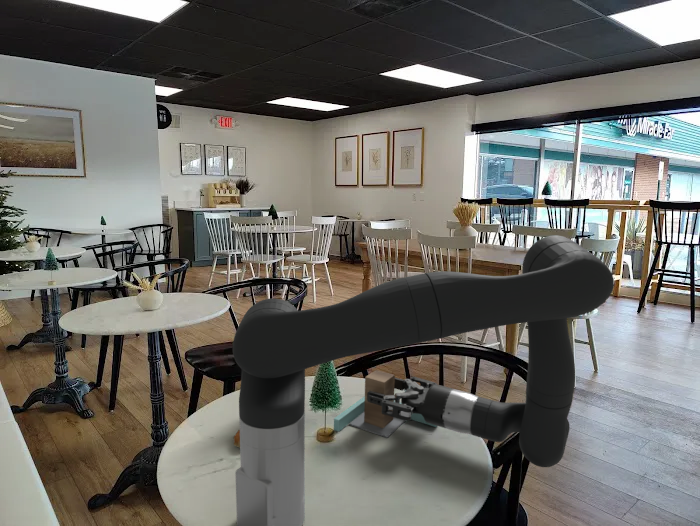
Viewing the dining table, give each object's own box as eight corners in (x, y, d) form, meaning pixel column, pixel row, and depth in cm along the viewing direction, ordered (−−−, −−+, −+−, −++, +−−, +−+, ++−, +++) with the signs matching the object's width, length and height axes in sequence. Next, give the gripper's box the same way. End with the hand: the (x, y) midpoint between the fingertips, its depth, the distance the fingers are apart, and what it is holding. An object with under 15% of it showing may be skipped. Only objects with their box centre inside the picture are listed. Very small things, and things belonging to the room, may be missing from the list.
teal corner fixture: (409, 457, 86) (410, 444, 86) (333, 429, 95) (333, 418, 95) (438, 424, 98) (439, 413, 97) (368, 403, 107) (368, 393, 106)
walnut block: (382, 428, 95) (384, 382, 94) (364, 421, 98) (365, 377, 96) (393, 419, 99) (394, 374, 97) (374, 413, 101) (376, 369, 100)
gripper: (466, 377, 94) (394, 360, 103) (439, 405, 82) (360, 383, 91) (464, 412, 95) (393, 392, 104) (437, 444, 84) (360, 419, 92)
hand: (378, 388), depth 97 cm, fingers open, 8 cm apart
